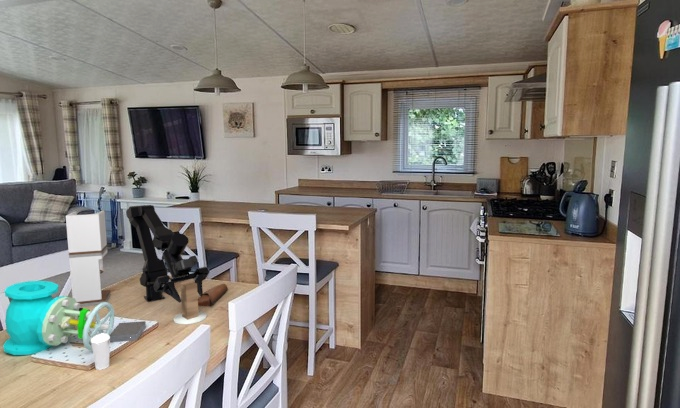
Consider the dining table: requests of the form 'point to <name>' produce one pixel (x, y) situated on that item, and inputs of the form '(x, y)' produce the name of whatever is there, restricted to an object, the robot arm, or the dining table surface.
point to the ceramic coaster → (184, 321)
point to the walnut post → (189, 300)
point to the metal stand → (127, 331)
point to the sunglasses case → (212, 295)
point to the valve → (48, 318)
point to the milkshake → (101, 350)
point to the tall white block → (87, 256)
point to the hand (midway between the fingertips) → (191, 299)
